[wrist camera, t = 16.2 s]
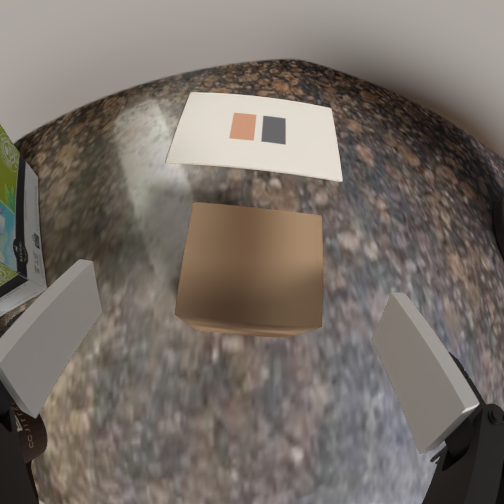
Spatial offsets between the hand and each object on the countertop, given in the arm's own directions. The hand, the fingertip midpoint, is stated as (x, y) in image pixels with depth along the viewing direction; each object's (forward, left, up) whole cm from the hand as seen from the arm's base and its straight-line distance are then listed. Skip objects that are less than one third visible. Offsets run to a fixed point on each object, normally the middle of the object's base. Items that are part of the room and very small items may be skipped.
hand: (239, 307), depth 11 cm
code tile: (0, -21, -10) cm, 24 cm away
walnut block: (-1, -3, -11) cm, 11 cm away
